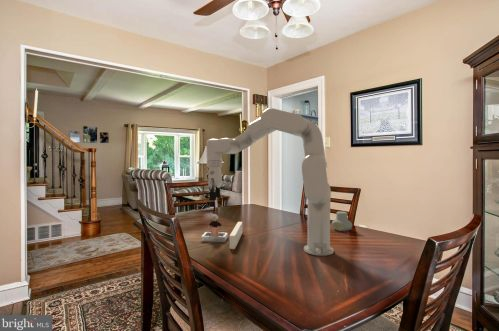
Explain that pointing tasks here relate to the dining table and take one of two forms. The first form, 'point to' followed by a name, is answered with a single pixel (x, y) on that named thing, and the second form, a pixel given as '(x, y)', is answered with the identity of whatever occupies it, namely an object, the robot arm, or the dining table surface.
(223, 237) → the grey hollow rectangular frame
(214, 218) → the grandmother figurine
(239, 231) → the white long flat block
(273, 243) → the dining table surface
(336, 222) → the air freshener
